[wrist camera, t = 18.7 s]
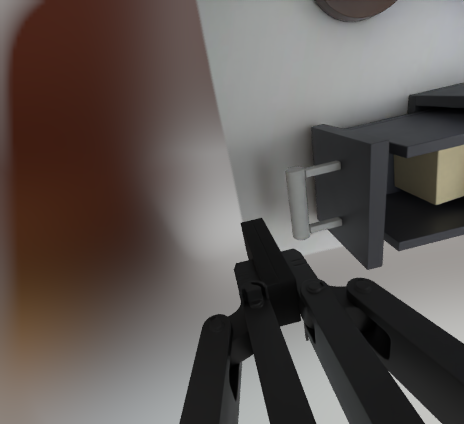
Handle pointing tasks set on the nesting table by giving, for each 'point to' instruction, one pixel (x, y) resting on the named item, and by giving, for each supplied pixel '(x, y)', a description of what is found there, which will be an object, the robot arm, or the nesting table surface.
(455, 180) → the cream foam cube
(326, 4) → the paper towel holder
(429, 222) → the drawer
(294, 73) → the nesting table surface
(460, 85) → the cabinet
